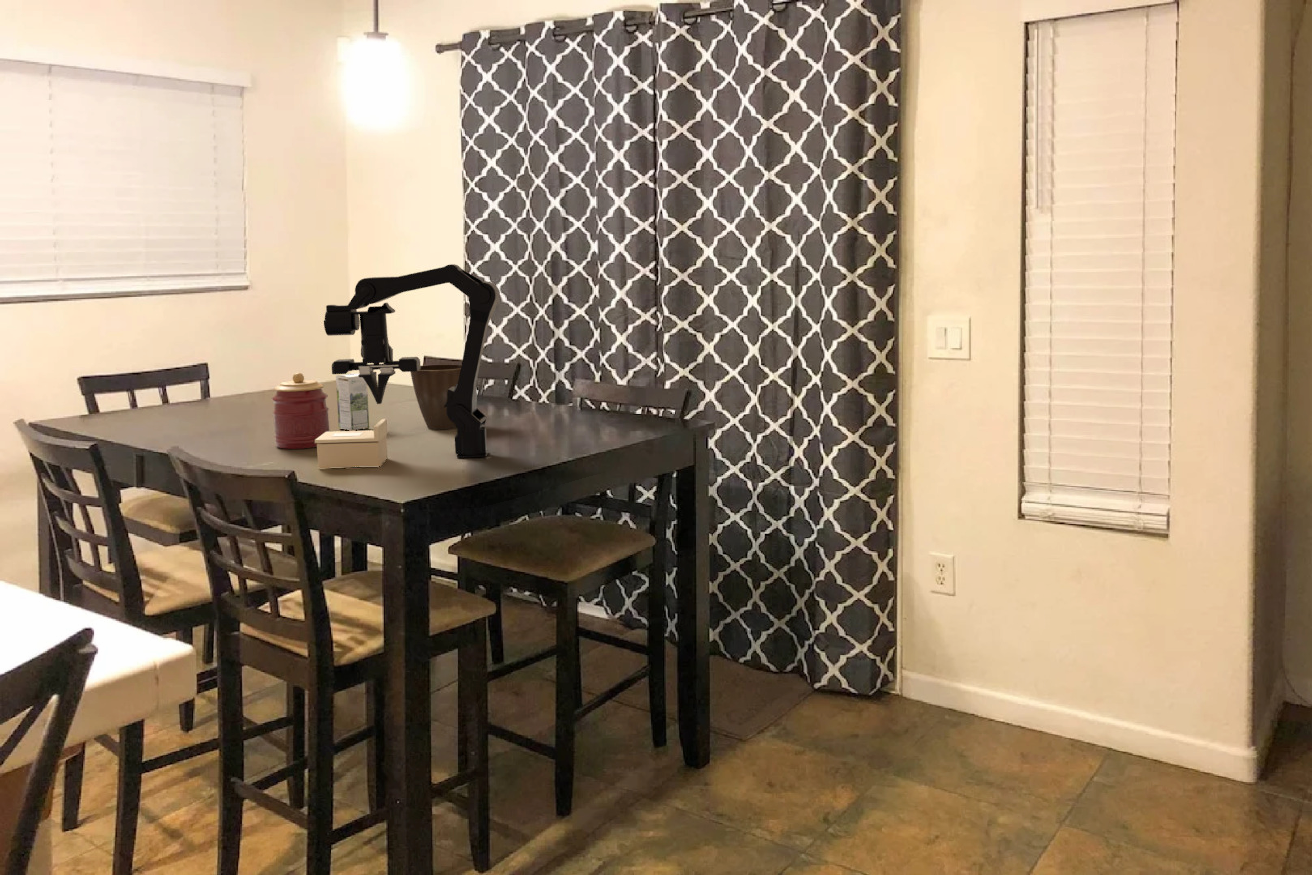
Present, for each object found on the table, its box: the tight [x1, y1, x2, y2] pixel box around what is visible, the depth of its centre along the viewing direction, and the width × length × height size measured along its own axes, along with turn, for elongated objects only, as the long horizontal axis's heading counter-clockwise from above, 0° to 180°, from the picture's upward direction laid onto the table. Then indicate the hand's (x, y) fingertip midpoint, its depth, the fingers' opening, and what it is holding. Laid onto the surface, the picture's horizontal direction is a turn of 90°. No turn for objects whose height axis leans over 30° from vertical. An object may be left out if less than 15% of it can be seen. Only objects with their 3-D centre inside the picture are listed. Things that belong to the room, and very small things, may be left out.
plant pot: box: [410, 363, 462, 430], centre depth 288 cm, size 15×15×16 cm
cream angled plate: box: [315, 418, 389, 443], centre depth 241 cm, size 14×11×3 cm
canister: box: [271, 372, 331, 450], centre depth 266 cm, size 13×13×18 cm
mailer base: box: [316, 434, 388, 469], centre depth 242 cm, size 13×10×6 cm
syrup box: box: [335, 372, 370, 431], centre depth 287 cm, size 6×6×14 cm
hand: (379, 403), depth 247 cm, fingers closed
